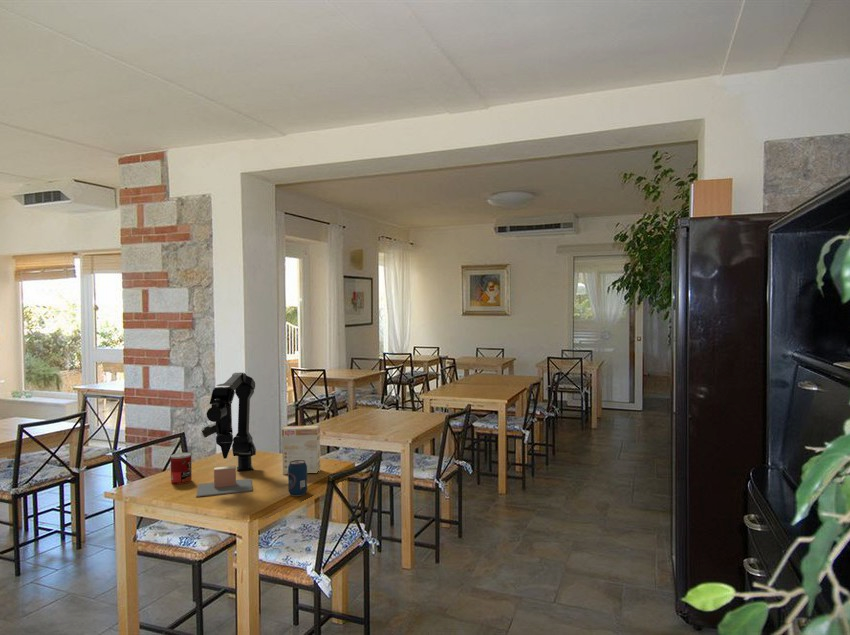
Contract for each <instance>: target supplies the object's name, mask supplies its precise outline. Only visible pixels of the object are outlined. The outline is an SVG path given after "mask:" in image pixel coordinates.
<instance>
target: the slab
mask: <svg viewBox="0 0 850 635" xmlns="http://www.w3.org/2000/svg"><path fill="white" fill-rule="evenodd" d="M236 475H237V466H236V465H229V466H218V467H214V468H213V479H214V482H213V483H214V488H215V487H224V486H234V485H236V480H237V477H236Z"/></svg>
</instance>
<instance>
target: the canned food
mask: <svg viewBox="0 0 850 635" xmlns="http://www.w3.org/2000/svg"><path fill="white" fill-rule="evenodd" d="M192 479H193V478H192V454H191V452H178V453H177V452H176V453H173V454H171V455H170V482H171V484H173V483H184V484H186V483H185V482H188V483H190V482H191V481H192ZM189 481H190V482H189Z"/></svg>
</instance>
